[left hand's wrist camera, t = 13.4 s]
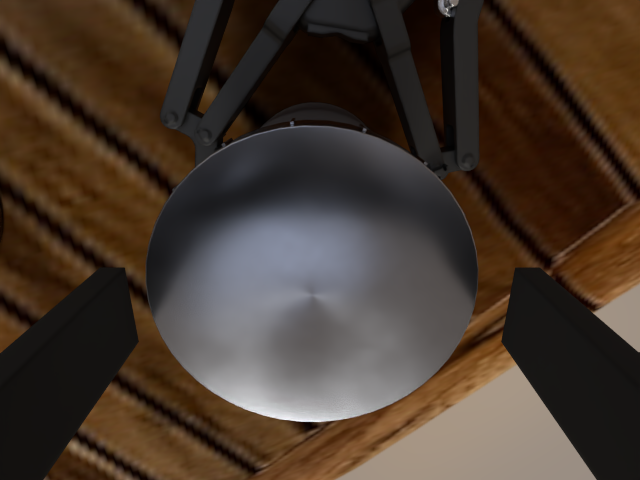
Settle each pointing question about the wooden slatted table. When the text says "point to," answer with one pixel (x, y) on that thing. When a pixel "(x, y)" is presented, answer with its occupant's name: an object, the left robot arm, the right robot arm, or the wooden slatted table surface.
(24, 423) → the left robot arm
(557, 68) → the wooden slatted table surface
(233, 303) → the lid
